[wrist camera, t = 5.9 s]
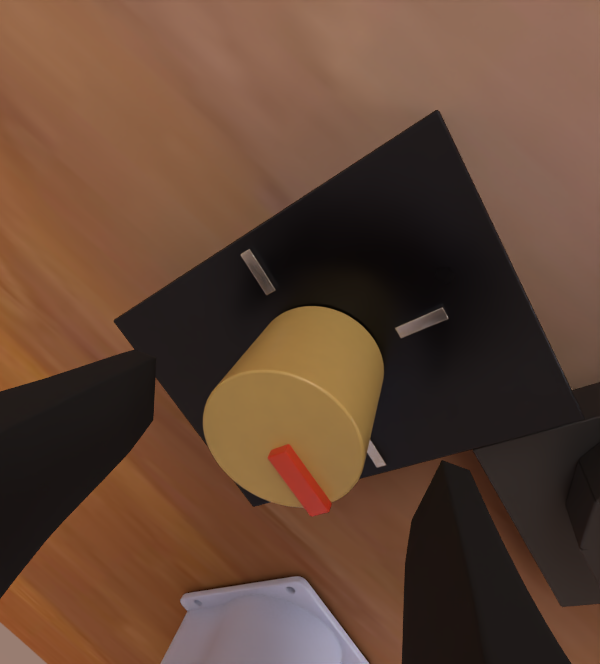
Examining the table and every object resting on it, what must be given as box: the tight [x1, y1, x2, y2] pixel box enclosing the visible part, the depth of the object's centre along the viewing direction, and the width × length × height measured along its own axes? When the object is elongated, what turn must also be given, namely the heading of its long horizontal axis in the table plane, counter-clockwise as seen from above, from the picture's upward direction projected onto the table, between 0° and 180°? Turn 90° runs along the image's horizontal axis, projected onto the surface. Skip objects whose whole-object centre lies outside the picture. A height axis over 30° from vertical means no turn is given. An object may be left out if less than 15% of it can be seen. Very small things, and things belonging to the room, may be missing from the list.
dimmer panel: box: [114, 110, 585, 507], centre depth 15 cm, size 12×9×3 cm
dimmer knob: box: [203, 306, 384, 517], centre depth 12 cm, size 4×4×4 cm
